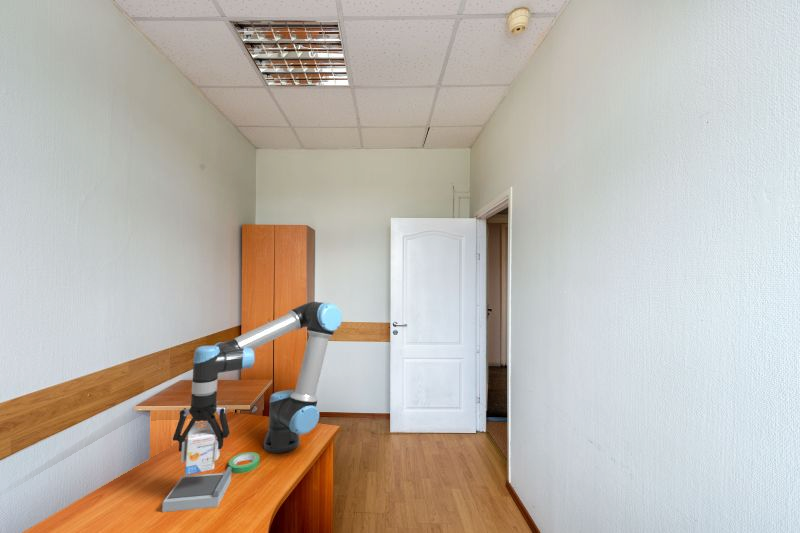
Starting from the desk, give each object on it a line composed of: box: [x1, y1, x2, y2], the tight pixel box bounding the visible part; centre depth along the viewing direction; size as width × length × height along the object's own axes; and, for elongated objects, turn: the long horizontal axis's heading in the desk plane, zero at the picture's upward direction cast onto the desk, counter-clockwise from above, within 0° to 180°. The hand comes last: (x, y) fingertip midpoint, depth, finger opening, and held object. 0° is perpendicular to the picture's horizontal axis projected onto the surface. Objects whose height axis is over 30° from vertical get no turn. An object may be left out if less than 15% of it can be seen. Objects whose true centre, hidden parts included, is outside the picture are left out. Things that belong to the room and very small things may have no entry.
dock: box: [161, 467, 232, 513], centre depth 112 cm, size 16×14×5 cm
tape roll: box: [227, 451, 260, 475], centre depth 131 cm, size 11×11×3 cm
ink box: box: [184, 421, 217, 476], centre depth 113 cm, size 8×5×15 cm, turn 123°
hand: (200, 459), depth 113 cm, fingers closed on ink box, 9 cm apart
